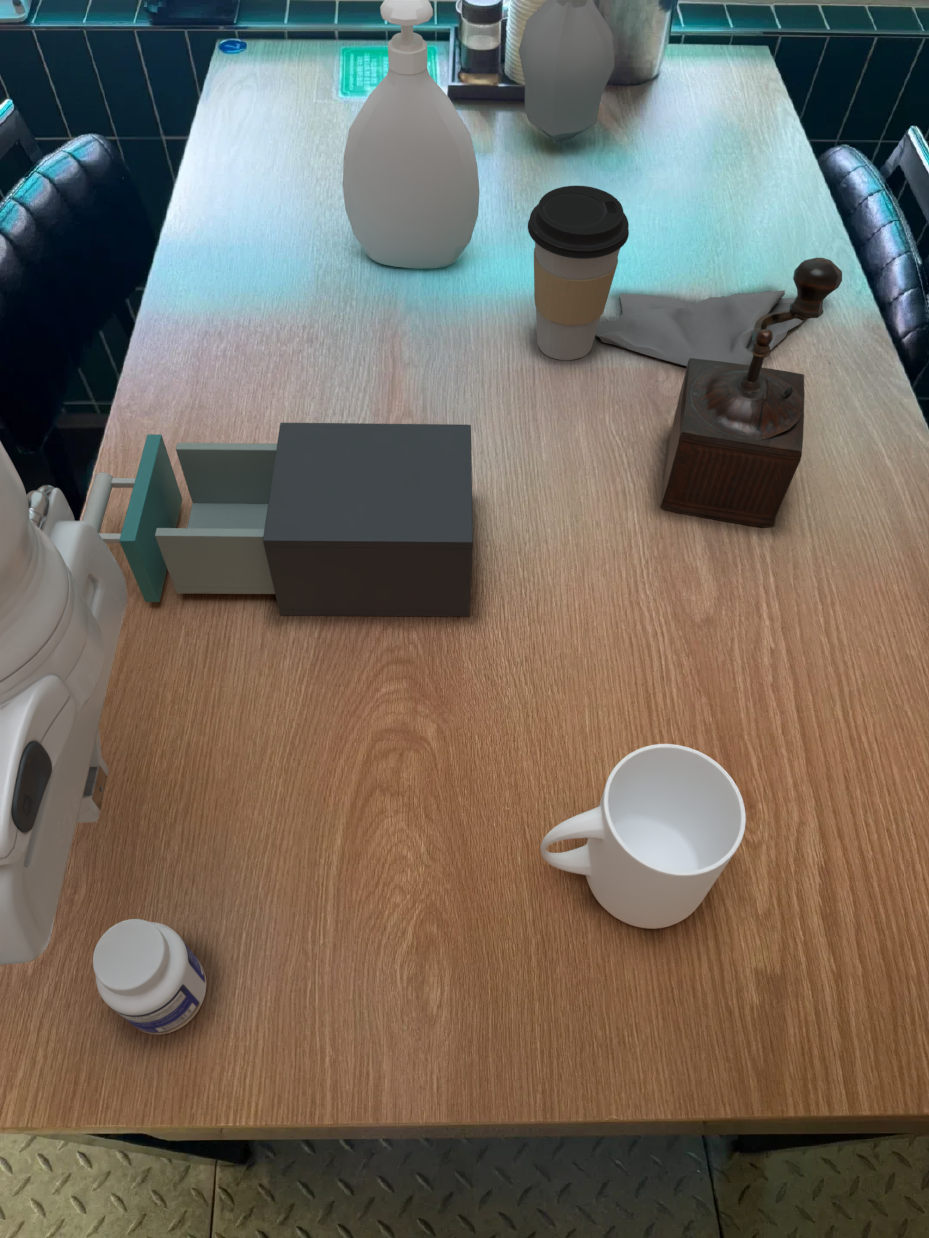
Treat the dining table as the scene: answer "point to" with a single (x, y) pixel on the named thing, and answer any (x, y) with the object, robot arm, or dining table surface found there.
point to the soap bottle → (410, 159)
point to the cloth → (695, 326)
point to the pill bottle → (149, 975)
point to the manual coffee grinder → (743, 422)
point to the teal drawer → (194, 518)
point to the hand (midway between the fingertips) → (89, 796)
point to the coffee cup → (574, 265)
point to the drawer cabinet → (371, 520)
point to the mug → (655, 835)
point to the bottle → (565, 66)
